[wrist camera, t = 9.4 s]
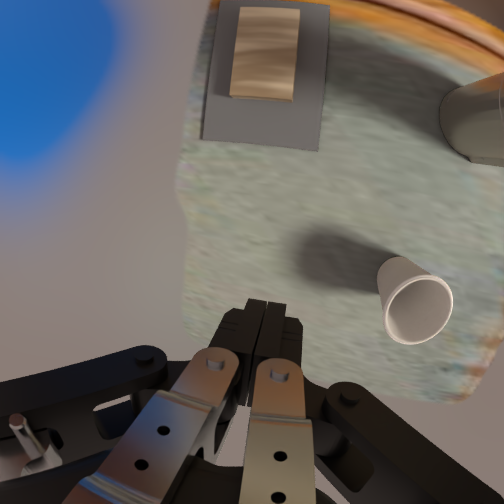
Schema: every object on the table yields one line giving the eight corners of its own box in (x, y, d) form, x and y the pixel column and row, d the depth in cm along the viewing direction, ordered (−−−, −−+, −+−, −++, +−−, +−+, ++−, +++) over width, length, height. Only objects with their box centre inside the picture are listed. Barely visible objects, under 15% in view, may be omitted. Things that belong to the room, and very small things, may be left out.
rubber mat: (317, 151, 35) (317, 151, 34) (203, 140, 37) (202, 140, 36) (329, 7, 28) (329, 5, 28) (221, 1, 30) (220, 0, 30)
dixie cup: (374, 312, 40) (389, 354, 30) (360, 258, 38) (376, 291, 28) (428, 293, 38) (455, 330, 28) (418, 238, 36) (449, 264, 26)
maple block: (291, 99, 31) (299, 9, 27) (229, 94, 32) (240, 6, 28) (292, 103, 33) (300, 17, 29) (234, 98, 34) (244, 14, 30)
